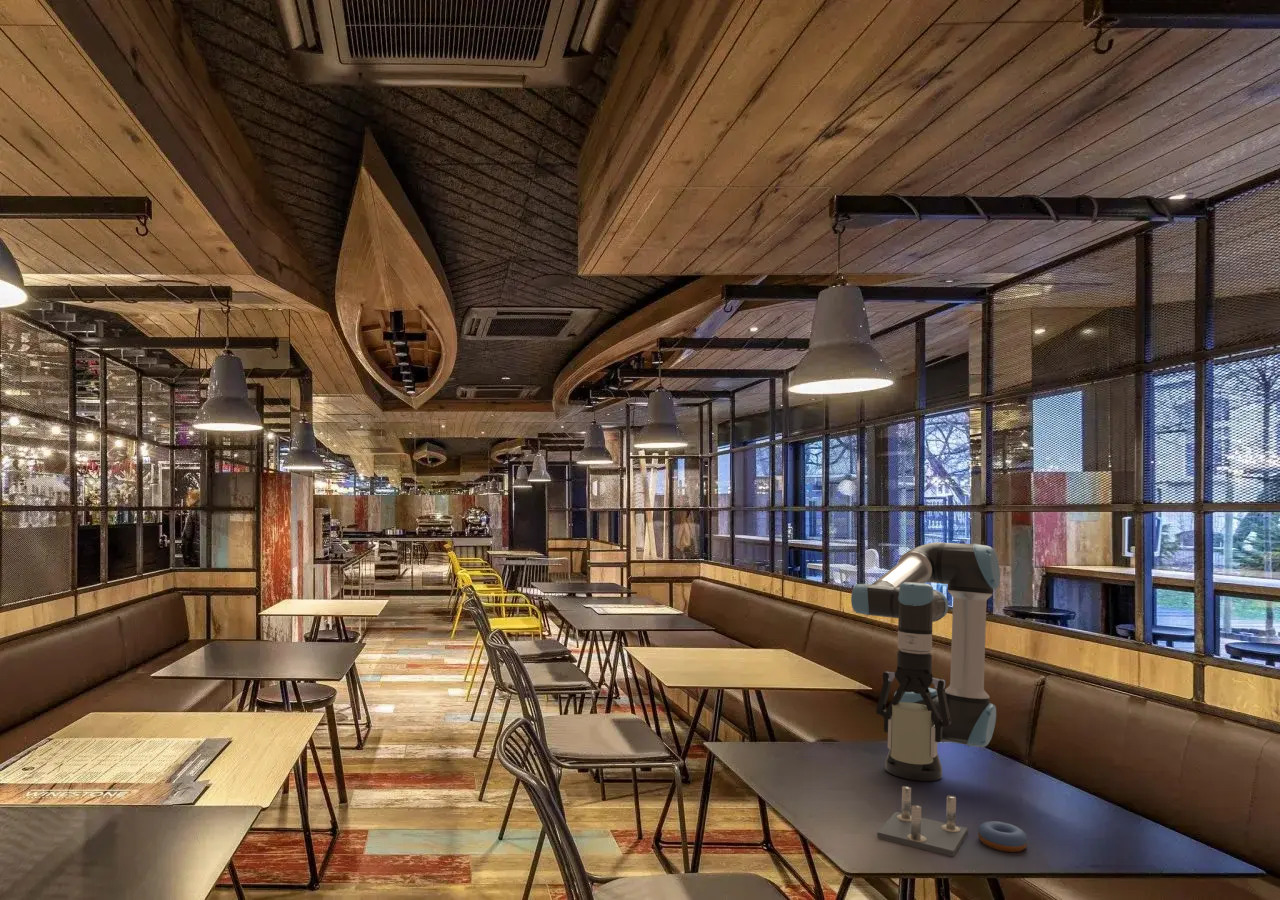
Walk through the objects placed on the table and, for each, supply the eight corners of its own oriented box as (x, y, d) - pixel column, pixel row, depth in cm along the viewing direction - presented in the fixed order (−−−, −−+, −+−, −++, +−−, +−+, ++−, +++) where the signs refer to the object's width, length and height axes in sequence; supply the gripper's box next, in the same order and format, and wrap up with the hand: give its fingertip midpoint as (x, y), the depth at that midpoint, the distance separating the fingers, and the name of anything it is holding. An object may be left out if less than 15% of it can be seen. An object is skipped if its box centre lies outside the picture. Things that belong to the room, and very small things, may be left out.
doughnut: (998, 854, 174) (1000, 831, 175) (967, 838, 184) (969, 817, 184) (1037, 856, 177) (1038, 834, 177) (1004, 840, 186) (1005, 819, 187)
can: (935, 766, 180) (936, 710, 181) (891, 761, 183) (893, 706, 184) (930, 755, 189) (932, 702, 190) (889, 750, 192) (890, 698, 193)
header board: (895, 817, 194) (895, 810, 194) (967, 833, 186) (967, 827, 186) (877, 837, 181) (877, 831, 181) (953, 856, 172) (953, 849, 172)
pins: (902, 816, 191) (903, 785, 192) (956, 828, 185) (956, 796, 186) (886, 834, 180) (887, 801, 180) (943, 848, 173) (944, 814, 174)
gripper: (862, 646, 191) (859, 745, 189) (960, 659, 179) (958, 765, 177) (873, 643, 197) (870, 739, 195) (967, 655, 185) (965, 758, 183)
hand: (912, 751), depth 186 cm, fingers closed on can, 9 cm apart
